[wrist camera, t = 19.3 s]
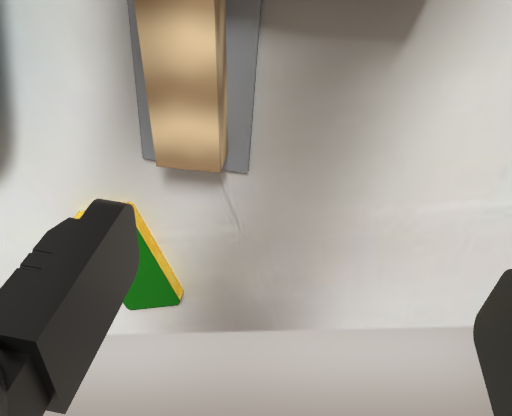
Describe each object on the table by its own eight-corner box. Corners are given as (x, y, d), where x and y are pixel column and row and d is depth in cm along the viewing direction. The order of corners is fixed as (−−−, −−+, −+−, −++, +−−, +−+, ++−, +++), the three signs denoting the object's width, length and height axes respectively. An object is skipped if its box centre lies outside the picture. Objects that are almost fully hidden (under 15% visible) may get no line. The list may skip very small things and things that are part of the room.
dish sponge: (133, 198, 45) (124, 212, 43) (185, 290, 53) (180, 305, 51) (78, 209, 47) (67, 223, 46) (135, 296, 55) (128, 311, 53)
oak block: (149, -26, 31) (131, -17, 28) (224, -22, 31) (213, -12, 28) (169, 146, 40) (156, 166, 37) (228, 152, 39) (220, 172, 36)
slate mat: (125, -51, 31) (122, -50, 31) (263, -36, 30) (262, -35, 30) (144, 155, 41) (142, 158, 41) (248, 170, 41) (247, 173, 40)
